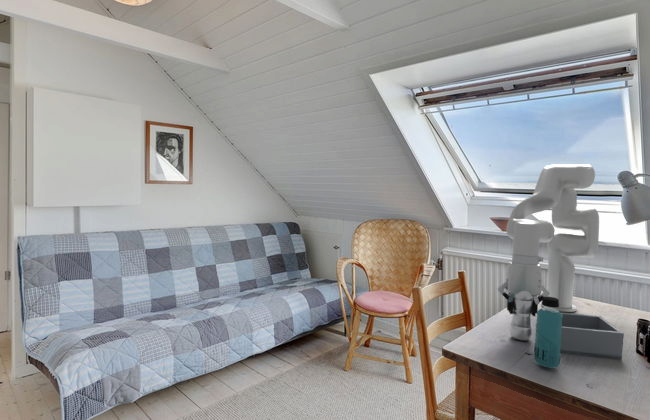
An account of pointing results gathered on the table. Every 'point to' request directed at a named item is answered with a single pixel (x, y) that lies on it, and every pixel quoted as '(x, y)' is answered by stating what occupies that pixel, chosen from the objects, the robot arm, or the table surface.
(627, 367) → the table surface
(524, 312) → the silver aluminium bottle
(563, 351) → the bin
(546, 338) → the beverage bottle
